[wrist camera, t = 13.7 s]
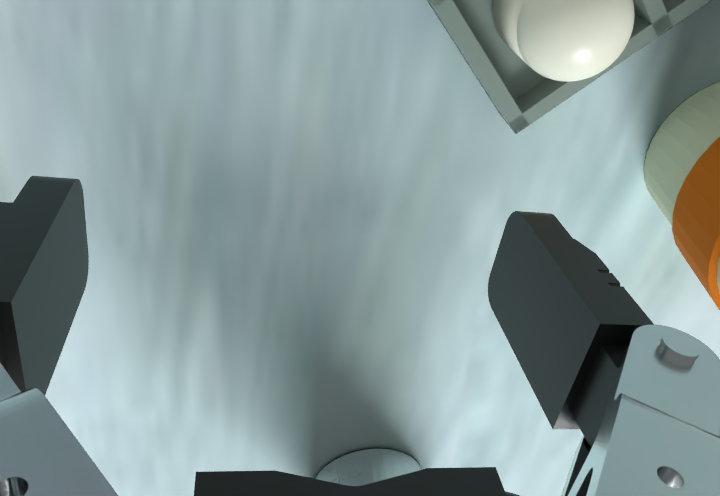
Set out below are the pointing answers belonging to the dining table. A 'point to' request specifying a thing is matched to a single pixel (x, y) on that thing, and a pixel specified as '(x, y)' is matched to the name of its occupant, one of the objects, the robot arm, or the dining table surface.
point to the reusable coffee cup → (691, 182)
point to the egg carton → (550, 45)
